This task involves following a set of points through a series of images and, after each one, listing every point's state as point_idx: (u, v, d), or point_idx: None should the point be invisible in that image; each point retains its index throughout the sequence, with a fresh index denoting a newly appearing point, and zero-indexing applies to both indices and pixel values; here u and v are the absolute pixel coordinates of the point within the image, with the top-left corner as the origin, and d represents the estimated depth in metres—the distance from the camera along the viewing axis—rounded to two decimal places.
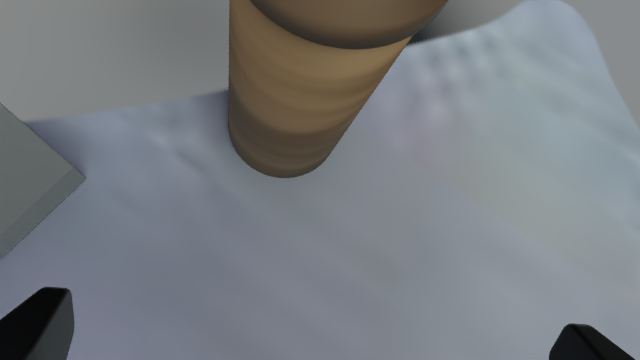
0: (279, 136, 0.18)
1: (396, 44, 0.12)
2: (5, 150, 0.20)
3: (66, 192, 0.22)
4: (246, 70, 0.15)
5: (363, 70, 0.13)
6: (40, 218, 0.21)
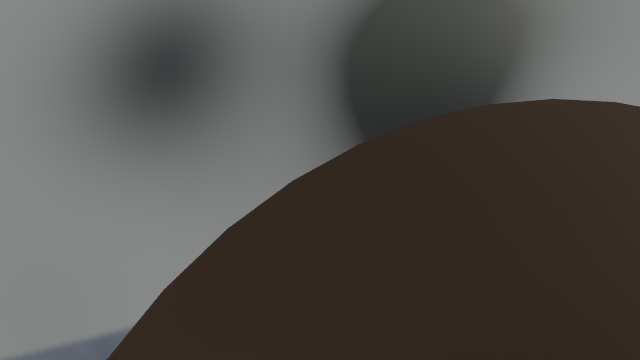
0: None
1: None
2: None
3: None
4: None
5: None
6: None
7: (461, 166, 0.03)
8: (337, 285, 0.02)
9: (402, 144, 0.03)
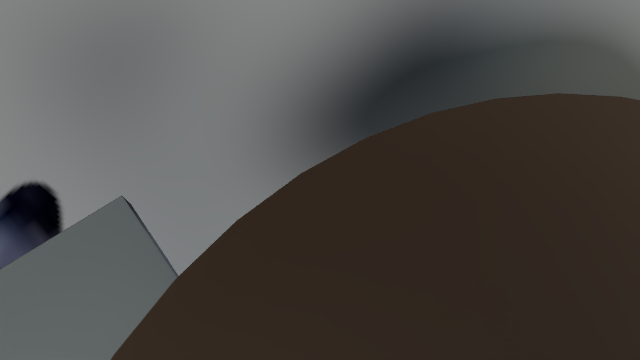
0: None
1: None
2: None
3: None
4: None
5: None
6: None
7: (467, 160, 0.03)
8: (344, 277, 0.02)
9: (408, 138, 0.03)
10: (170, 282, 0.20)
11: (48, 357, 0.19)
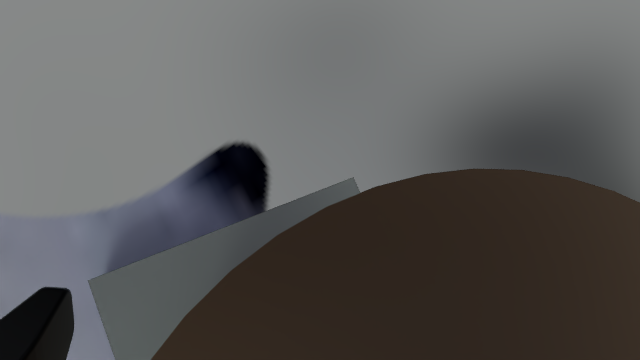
0: None
1: None
2: None
3: None
4: None
5: None
6: None
7: (402, 221, 0.03)
8: (308, 311, 0.03)
9: (358, 205, 0.03)
10: None
11: None
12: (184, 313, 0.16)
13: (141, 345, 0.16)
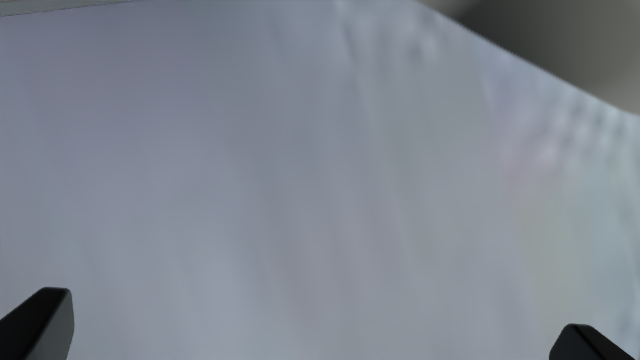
0: None
1: None
2: None
3: None
4: None
5: None
6: None
7: None
8: None
9: None
10: None
11: None
12: None
13: None
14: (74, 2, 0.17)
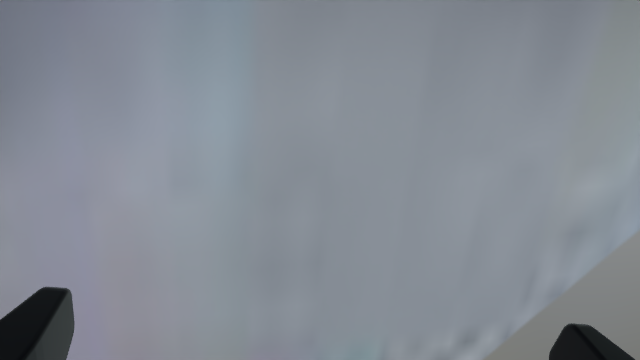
0: None
1: None
2: None
3: None
4: None
5: None
6: None
7: None
8: None
9: None
10: None
11: None
12: None
13: None
14: None
